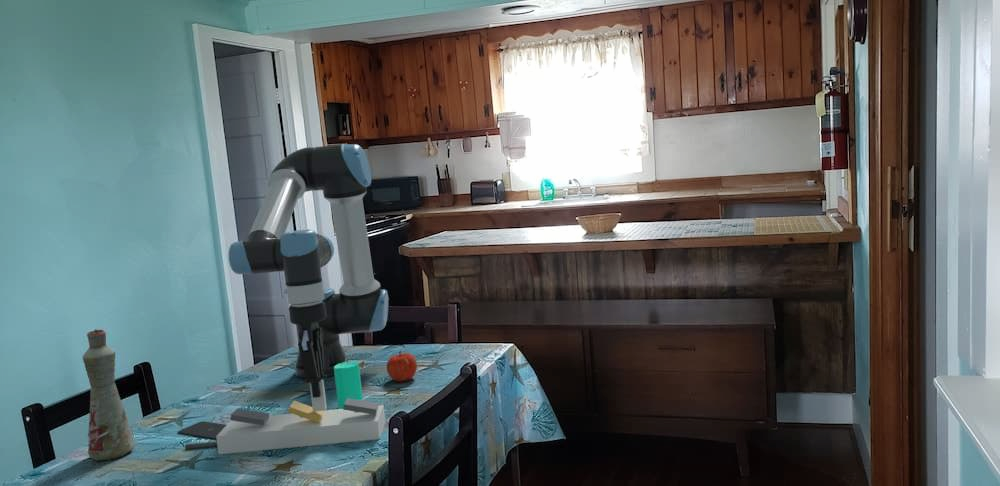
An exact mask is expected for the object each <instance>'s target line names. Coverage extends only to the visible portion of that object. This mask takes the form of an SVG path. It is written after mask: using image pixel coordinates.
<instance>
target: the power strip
mask: <svg viewBox="0 0 1000 486" xmlns="http://www.w3.org/2000/svg"><path fill="white" fill-rule="evenodd" d="M385 415H386V414H385V407H384V404H379V406H378V410H377V413H376V415H374V414H367V413H361V412H355V411H349V410H343V409H338V408H336V409H328V410H327V409H326V410H325V411H324V414H323V417H322V418H321V420H320V422H319V423H317V422H314V421H311V420H309V419H306V418H303V417H300V416H298V415H295V414H292V413H286V414H285V413H283V414H282V413H281V414H273V415H269V419H268V420H267V421H266V423H265V424H264V425H257V424H251V423H244V422H238V421H232V420H230V421H229V422H228V423H227V424H225V425H226V426H225V427H224V428H223V430H222V431H221V432H220V433H219V434H218V435H217V436H216V438H217V440H215V441H207V442H197V443H187V444H185V445H184V449H186V450H189V449H191V450H192V449H201V448H203V449H204V448H211V447H212V448H213V447H217V451H218V455H226V454H237V453H247V452H249V453H250V452H258V451H260V452H261V451H268V450H269V451H270V450H279V449H280V450H282V449H291V448H299V447H300V448H301V447H311V446H320V445H331V444H333V445H334V444H343V443H353V442H362V441H363V442H364V441H375V440H380V439H381V437H382V434H383V431H384V428H385V424H386V416H385Z"/></svg>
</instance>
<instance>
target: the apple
mask: <svg viewBox="0 0 1000 486" xmlns="http://www.w3.org/2000/svg"><path fill="white" fill-rule="evenodd" d="M417 368H418V363H417V360H416V358H415V356H414V355H413V354H412V353H408V352H407V353H402V351H401V350H400V351H399V354H397V355H393V356H391V357H390V358H389V359H388V360H387V363H386V373H387V374H388V376H389V378H391V379H392V381H395V382H399V383H402V382H407V381H410V380H411V379H413V378H414V376H415V374H416V372H417Z"/></svg>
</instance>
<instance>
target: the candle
mask: <svg viewBox="0 0 1000 486" xmlns="http://www.w3.org/2000/svg"><path fill="white" fill-rule="evenodd" d="M345 361H346V359H345ZM334 374H335V375H334V382H335V390H336V399H337V407H338V408H337V409H343V408H344V403H345V402H346V400H347V398H350V399H356V400H362V401H364V398H363V388H362V381H361V380H362V379H361V371H360V365H359V362H357V361H353V362H351V361H348V362H343V363H339V364H337V365H335V366H334Z"/></svg>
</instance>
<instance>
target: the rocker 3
mask: <svg viewBox="0 0 1000 486" xmlns="http://www.w3.org/2000/svg"><path fill="white" fill-rule="evenodd" d="M379 405H380V402H375V401H374V402H373V401H368V400H363V401H362V400H356V399H350V398H347V400H346V402H345V403H344V408H343V410H349V411H355V412H361V413H367V414H374V415H376V413H377V410H378V406H379Z"/></svg>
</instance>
